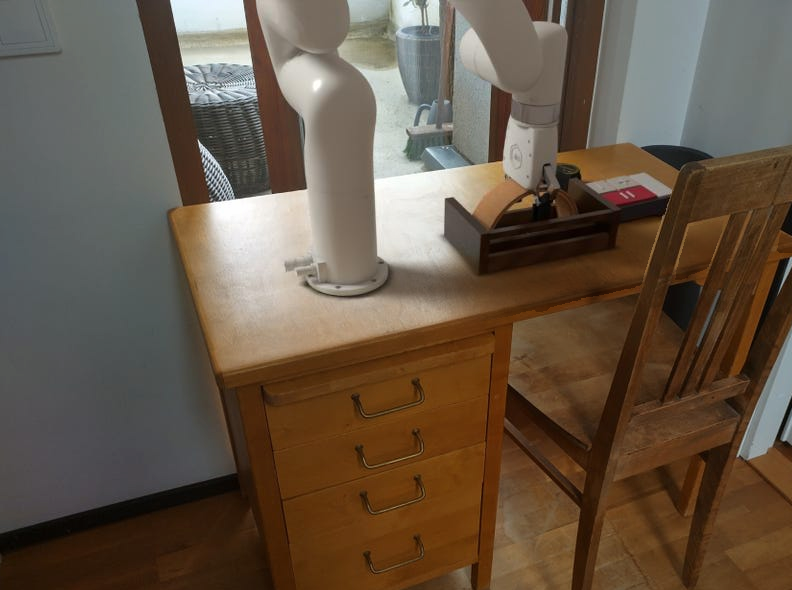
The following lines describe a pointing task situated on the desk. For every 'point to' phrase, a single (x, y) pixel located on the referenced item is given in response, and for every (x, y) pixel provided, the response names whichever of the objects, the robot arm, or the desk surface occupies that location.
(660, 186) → the plus minus keypad
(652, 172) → the desk surface
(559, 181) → the tape measure
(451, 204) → the rack
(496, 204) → the arch
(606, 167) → the desk surface
